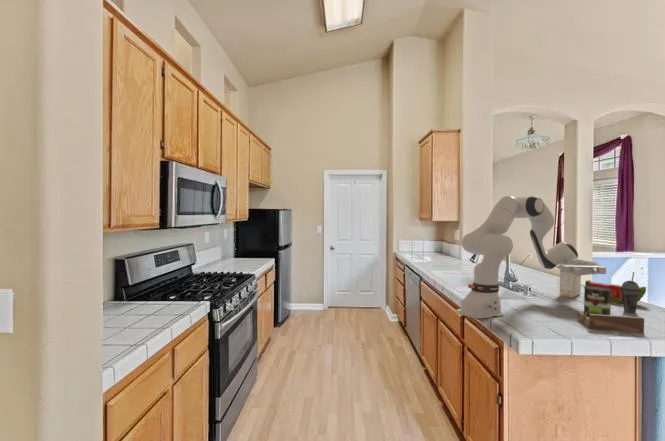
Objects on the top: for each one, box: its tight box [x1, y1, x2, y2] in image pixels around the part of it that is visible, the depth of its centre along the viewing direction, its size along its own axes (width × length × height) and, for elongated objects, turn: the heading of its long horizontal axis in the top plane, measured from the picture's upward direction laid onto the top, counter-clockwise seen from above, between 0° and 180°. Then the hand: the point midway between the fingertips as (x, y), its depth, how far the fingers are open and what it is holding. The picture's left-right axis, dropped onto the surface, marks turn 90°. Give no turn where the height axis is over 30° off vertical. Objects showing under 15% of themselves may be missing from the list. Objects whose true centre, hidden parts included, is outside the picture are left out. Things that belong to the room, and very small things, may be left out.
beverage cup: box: [621, 271, 640, 314], centre depth 181 cm, size 7×7×20 cm
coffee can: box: [583, 285, 612, 317], centre depth 171 cm, size 10×10×14 cm
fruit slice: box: [584, 279, 647, 304], centre depth 202 cm, size 26×6×10 cm, turn 45°
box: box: [577, 311, 645, 334], centre depth 159 cm, size 14×19×6 cm
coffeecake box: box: [559, 270, 582, 298], centre depth 218 cm, size 15×7×20 cm, turn 130°
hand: (587, 271), depth 182 cm, fingers open, 5 cm apart
